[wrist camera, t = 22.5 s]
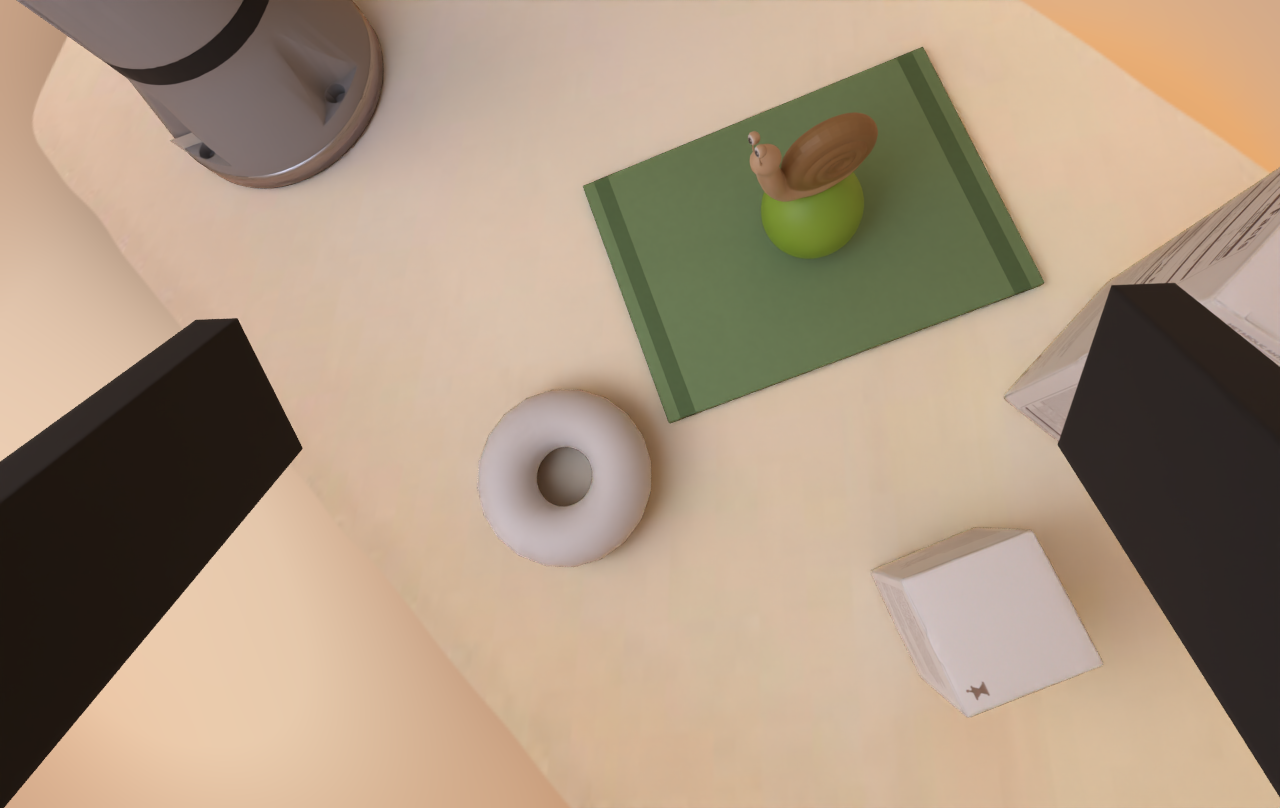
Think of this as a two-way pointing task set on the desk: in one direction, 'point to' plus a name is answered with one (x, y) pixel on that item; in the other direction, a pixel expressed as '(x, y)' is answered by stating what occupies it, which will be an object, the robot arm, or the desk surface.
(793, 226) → the snail figurine
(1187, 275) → the supplement box
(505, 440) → the donut
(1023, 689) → the product box
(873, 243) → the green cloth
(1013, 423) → the desk surface
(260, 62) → the robot arm
